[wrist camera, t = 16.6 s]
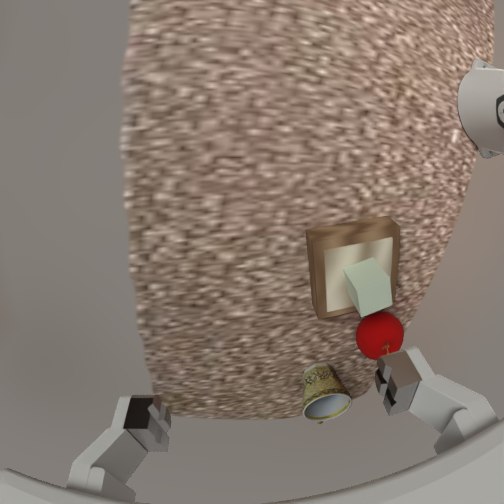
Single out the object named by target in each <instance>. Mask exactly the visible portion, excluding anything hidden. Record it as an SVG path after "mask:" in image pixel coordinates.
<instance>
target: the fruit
mask: <svg viewBox="0 0 504 504" xmlns="http://www.w3.org/2000/svg"><path fill="white" fill-rule="evenodd" d="M403 337H404V330H403V326H402V324H401V322H400V321H399V320H398V319H397V318H396V317H395V316H393V315H391V314H389V313H387V312H375V313H372V314H370V315H368V316H367V317H365V318H364V319H363V320H362V321H361V323H360V324H359V326H358V328H357V332H356V341H357V345H358V347H359V349H360V351H361V352H362V353H363V354H364V355H365V356H367V357H368V358H370V359H373V360H378V358H379V357H381V356H384V355H387V354H390V353H393V352H396V351H399V349H400V347H401V345H402V342H403Z"/></svg>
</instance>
